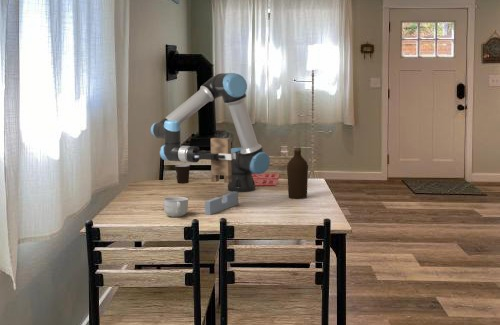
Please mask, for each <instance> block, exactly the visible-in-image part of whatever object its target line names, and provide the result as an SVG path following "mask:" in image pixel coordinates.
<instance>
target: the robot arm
mask: <svg viewBox="0 0 500 325" xmlns="http://www.w3.org/2000/svg"><path fill="white" fill-rule="evenodd" d="M247 83H248V82H247V80H246V78H244V76H242V75H241V74H240V73H235V72H228V73H218V74H215V75H214V76H212V77H210V78H209V79H208V80H207V81H206V82H204V83H203V84H201V86H200V88H199V90H198V91H196V92H195V93H194V94H192V96H190V97H189V98H188V99H186V100H185V101H184V102H183V103H181V104H180V105H179V106H177V107H176V108H175V109H174V110H173V111H172V112H170V113H169V114H168V115H167V116H165V117H164V118H163V119H161V120H160V121H158V122H157V121H156V122H154V123H153V124H152V125H151V127H150V133H151V135H152V136H153V137H155V138H157V139H161V140H162V139H163V140H164V144H163V145H162V146H161V147H160V150H159V156H160V158H161V160H163V161H169V162H183V163H184V164H186V163H198V162H199V161H200V160H210V161H211V160H215V159H216V161H218V158H219V160H231V172H232V182H230V183H227V191H229V192H233V191H235V192H238V193H239V192H241V193H242V192H253V191H256V186H255V183H254V180H253V177H252V173H253V174H262V173H266V171H267V170H268V169H269V167H270V164H271V160H270V159H271V158H270V156H269V155H268V153H266V152H265V151H264V149H263V146H262V144H260V143H258V140H257V136H256V133H255V129H254V127H253V124H252V121H251V120H252V119H251V116H250V115H249V111H248V110H249V109H248V108H247V104H246V101H245V99H246V98H247V94H246V93H247V90H248V84H247ZM220 97H222V100H223V103H224V104H225V105H227V106H228V109H229V112H230V115H231V118H232V122H233V125H234V127H235V131H236V134H237V136H238V137H237V138H238V140H239V143H240V146H241V147H234V148H233V147H231V154H221V153H219V155H218V154H214V153H211V150H203V149H201V148H200V147H199V146H195V145H193V146H190V145H182V144H181V125H182V124H183V123H184V122H186V121H187V120H188V119H189V118H191V117H192V116H193V115H194V114H196V112H198V111H199V110H200V109H201V108H202V107H204V106H205V105H206V104H208V103H210V102H213V101H215V100H216V99H218V98H220Z"/></svg>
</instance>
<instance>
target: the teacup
mask: <svg viewBox="0 0 500 325" xmlns="http://www.w3.org/2000/svg"><path fill="white" fill-rule="evenodd" d="M188 206H189V198H187V197H185V196H184V197H183V196H166V197H163V208H164V209H163V211H164V213H165V214H166V215H167V216H168V217H171V218H172V217H175V218H177V217H178V218H180V217H183V216H184V215H185V214H187V213H188V210H189V208H188Z"/></svg>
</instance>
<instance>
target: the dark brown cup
mask: <svg viewBox="0 0 500 325" xmlns="http://www.w3.org/2000/svg"><path fill="white" fill-rule="evenodd" d="M190 167H191V165H190V164H176V165H174V168H175V175H176V181H177V184H181V185H182V184H183V185H184V184H189V181H190V172H191V171H190Z"/></svg>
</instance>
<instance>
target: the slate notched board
mask: <svg viewBox="0 0 500 325" xmlns="http://www.w3.org/2000/svg"><path fill="white" fill-rule="evenodd" d="M237 205H239V192H235V191H229V192H227V193H226V194H223V195H222V197H218V196H216V197H213V198H211V199H207V200H205V201H204V212H205V214H204V215H206V216H211V215H214V214H217V213H219V212H221V211H225V210H226V209H229V208H231V207H234V206H237Z"/></svg>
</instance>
